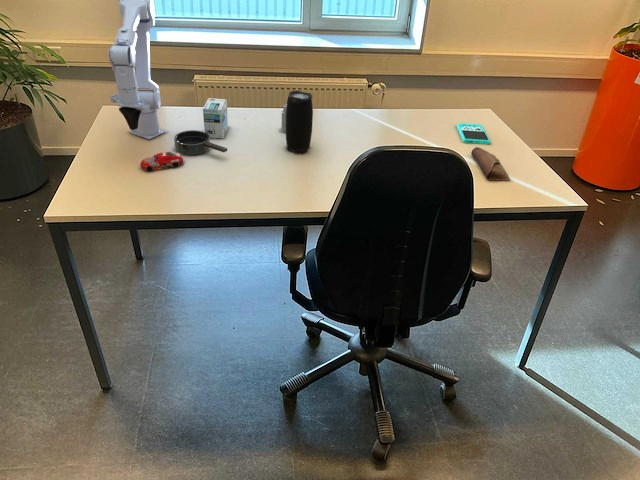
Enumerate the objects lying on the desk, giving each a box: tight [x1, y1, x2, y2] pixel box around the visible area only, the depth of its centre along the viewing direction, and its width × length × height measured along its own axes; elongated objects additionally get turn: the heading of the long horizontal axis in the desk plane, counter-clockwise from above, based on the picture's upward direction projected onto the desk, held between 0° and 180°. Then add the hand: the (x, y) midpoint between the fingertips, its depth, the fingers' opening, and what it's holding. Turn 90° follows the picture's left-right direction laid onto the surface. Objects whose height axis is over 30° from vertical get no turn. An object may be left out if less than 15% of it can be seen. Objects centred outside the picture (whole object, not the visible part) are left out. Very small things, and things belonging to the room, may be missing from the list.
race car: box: [139, 151, 185, 172], centre depth 165 cm, size 13×5×4 cm, turn 114°
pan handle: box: [204, 141, 228, 153], centre depth 172 cm, size 8×2×1 cm, turn 60°
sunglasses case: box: [470, 146, 510, 182], centre depth 177 cm, size 18×7×7 cm
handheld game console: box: [456, 122, 491, 145], centre depth 200 cm, size 10×16×1 cm, turn 178°
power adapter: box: [280, 101, 287, 133], centre depth 190 cm, size 3×5×12 cm, turn 92°
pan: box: [173, 129, 211, 156], centre depth 176 cm, size 12×12×4 cm
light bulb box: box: [202, 97, 229, 139], centre depth 186 cm, size 11×7×11 cm, turn 179°
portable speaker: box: [284, 90, 314, 155], centre depth 176 cm, size 9×9×20 cm
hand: (133, 128), depth 166 cm, fingers closed
